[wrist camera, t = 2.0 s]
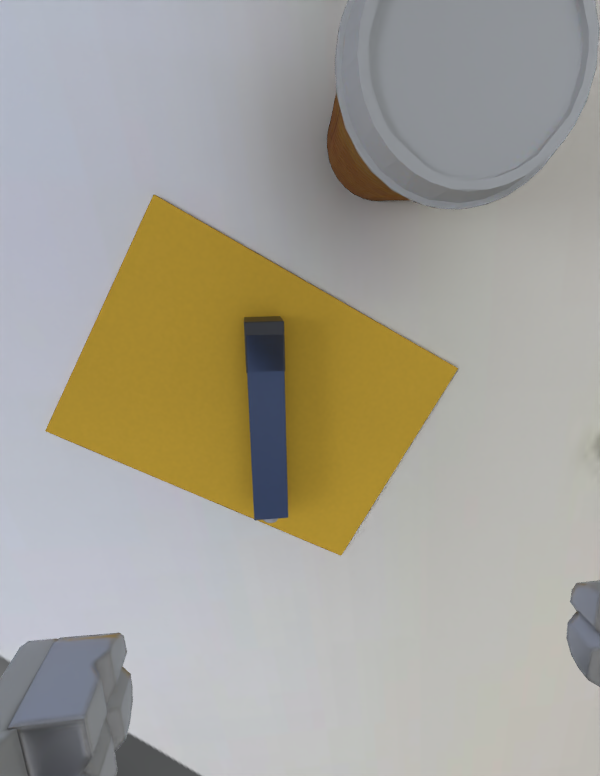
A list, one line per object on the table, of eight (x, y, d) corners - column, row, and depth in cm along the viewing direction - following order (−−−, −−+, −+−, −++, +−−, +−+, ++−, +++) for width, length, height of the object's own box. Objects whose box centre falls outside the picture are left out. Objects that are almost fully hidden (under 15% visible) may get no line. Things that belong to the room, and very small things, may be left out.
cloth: (46, 430, 29) (45, 431, 29) (154, 194, 26) (153, 194, 26) (340, 554, 34) (341, 555, 34) (456, 367, 31) (458, 368, 31)
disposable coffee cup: (480, 87, 27) (659, -46, 15) (423, 249, 29) (543, 239, 17) (327, 21, 25) (400, -185, 13) (279, 199, 27) (306, 152, 16)
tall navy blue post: (285, 508, 32) (289, 528, 30) (253, 510, 32) (253, 531, 29) (280, 315, 29) (284, 320, 26) (243, 317, 28) (243, 322, 26)
